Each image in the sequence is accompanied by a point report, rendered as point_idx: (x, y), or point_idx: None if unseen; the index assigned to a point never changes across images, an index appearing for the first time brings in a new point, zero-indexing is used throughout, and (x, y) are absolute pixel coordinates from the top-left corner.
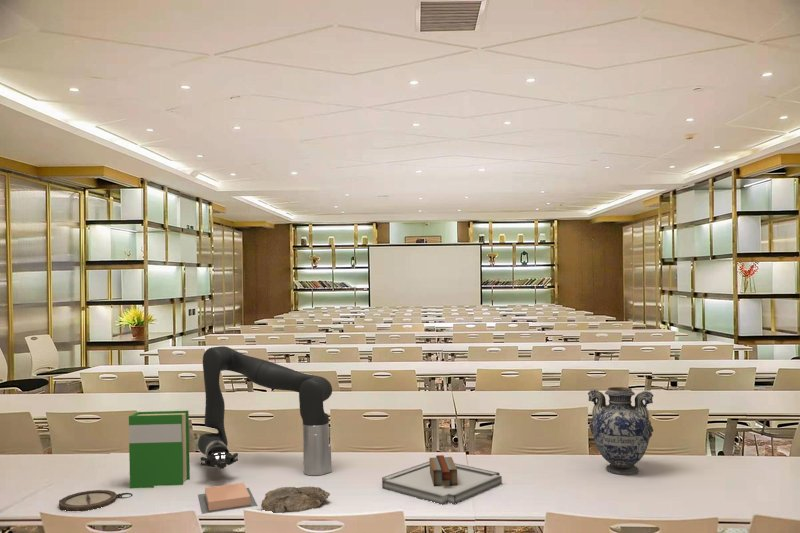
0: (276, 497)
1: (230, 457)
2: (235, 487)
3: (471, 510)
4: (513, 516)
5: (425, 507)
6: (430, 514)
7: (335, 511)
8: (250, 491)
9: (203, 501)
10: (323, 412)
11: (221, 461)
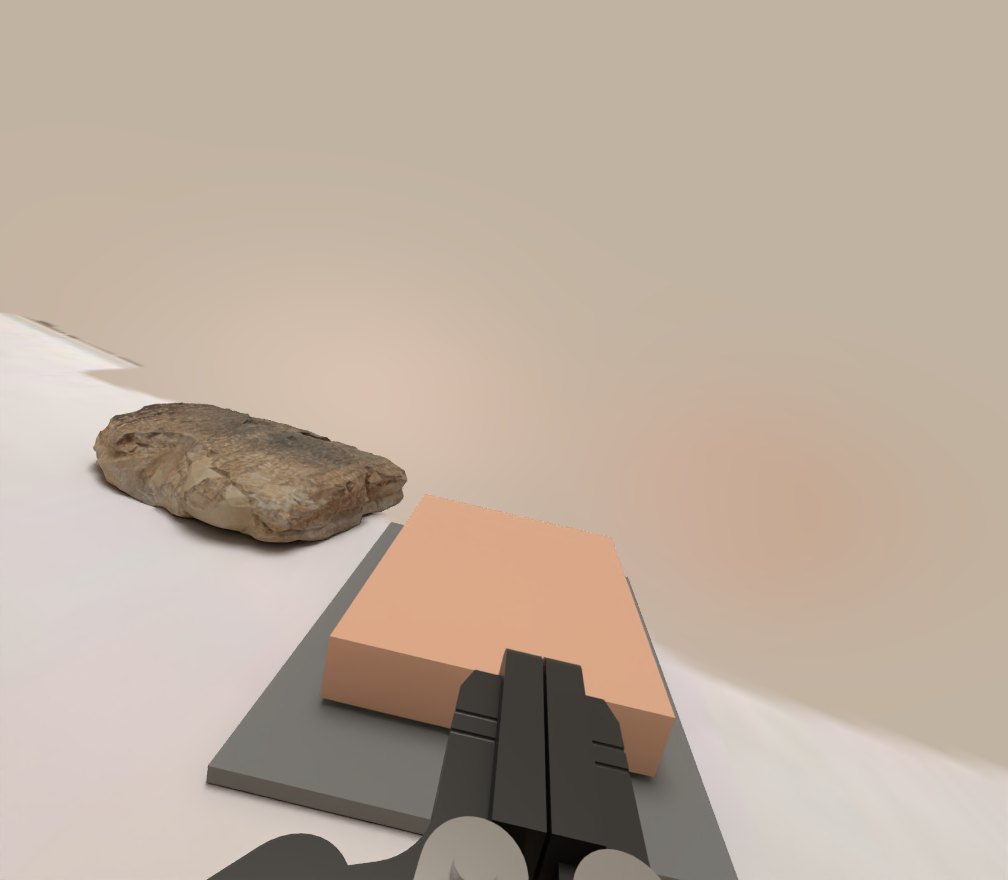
0: (348, 447)
1: (240, 862)
2: (440, 593)
3: (13, 335)
4: (22, 321)
5: (36, 359)
6: (92, 358)
7: None
8: (282, 669)
9: None
10: None
11: (549, 686)
